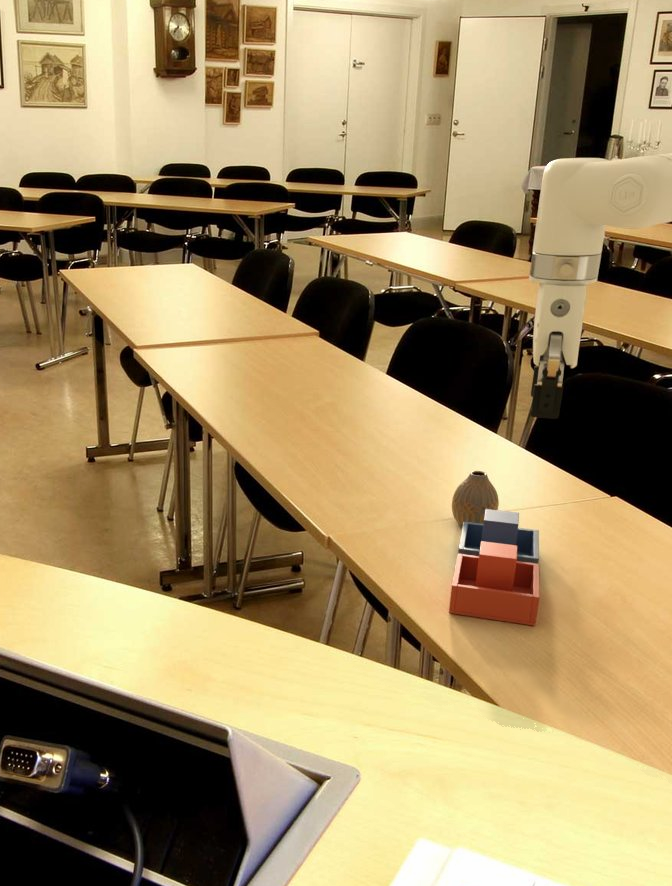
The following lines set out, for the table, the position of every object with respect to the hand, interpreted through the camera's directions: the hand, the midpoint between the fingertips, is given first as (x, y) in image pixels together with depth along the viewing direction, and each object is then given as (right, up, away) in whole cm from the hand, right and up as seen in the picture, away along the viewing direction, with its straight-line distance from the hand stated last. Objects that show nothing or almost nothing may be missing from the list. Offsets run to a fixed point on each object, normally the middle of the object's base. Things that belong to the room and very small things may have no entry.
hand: (543, 406), depth 115 cm
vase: (+1, -16, +29) cm, 33 cm away
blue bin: (0, -21, +16) cm, 26 cm away
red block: (-5, -25, +5) cm, 26 cm away
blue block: (0, -20, +16) cm, 26 cm away
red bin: (-4, -25, +5) cm, 26 cm away
